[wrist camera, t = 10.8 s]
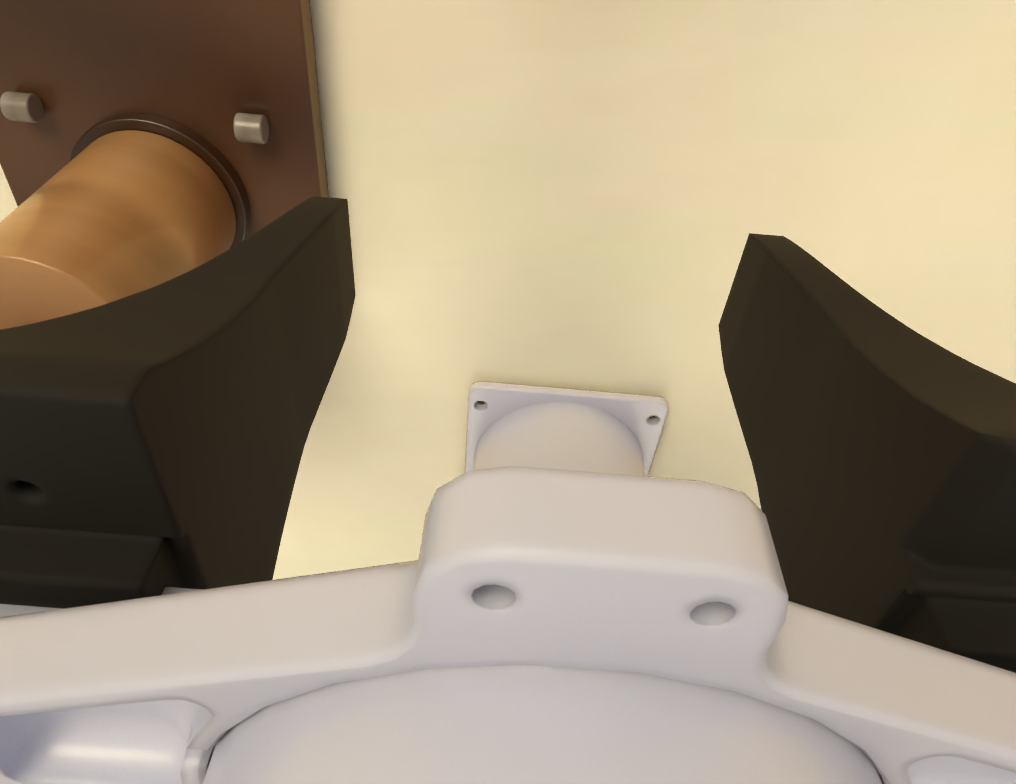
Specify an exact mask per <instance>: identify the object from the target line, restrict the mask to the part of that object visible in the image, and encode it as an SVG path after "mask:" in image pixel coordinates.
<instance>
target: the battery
mask: <svg viewBox="0 0 1016 784" xmlns="http://www.w3.org/2000/svg"><path fill="white" fill-rule="evenodd" d="M250 218H251V215H250V206H249V201H248V197H247V194H246V191H245V189H244V186H243V184H242V182H241V180H240V178H239V176H238V174H237V173H236V171H235V170H234V168H233V167H232V166H231V164H230V163H229V162H228V161H227V159H226V158H225V157H224V156H223V155H222V154H221V153H220V152H219V151H218V150H217V149H216V148H215V147H214V146H213V145H212V144H211V143H210V142H208V141H207V140H206V139H205V138H203V137H202V136H200V135H199V134H197V133H196V132H194V131H193V130H191V129H189V128H187V127H185V126H183V125H181V124H179V123H177V122H174V121H172V120H169V119H166V118H163V117H159V116H156V115H149V114H143V113H127V114H118V115H115V116H111V117H108V118H106V119H104V120H101V121H99V122H98V123H96V124H95V125H94V126H92V127H91V128H90V129H89V130H87V131H86V132H85V133H84V134H83V135H82V136H81V137H80V138H79V140H78V141H77V143H76V144H75V146H74V148H73V151H72V153H71V156H70V161H69V163H68V164H67V165H66V166H64V167H63V168H62V169H61V170H60V171H59V172H57V173H56V174H55V175H54V176H53V177H52V178H51V179H49V180H48V181H47V182H46V183H45V184H44V185H43V186H41V187H40V188H39V189H38V190H37V191H36V192H34V193H33V194H32V195H31V196H30V197H29V198H28V199H26V200H25V201H24V202H23V203H22V204H21V205H20V206H18V207H17V208H16V209H15V210H14V211H13V212H12V213H10V214H9V215H8V216H7V217H6V218H5V219H3V220H2V221H1V222H0V330H1V329H7V328H12V327H18V326H23V325H28V324H32V323H37V322H41V321H45V320H49V319H54V318H58V317H62V316H66V315H70V314H73V313H77V312H80V311H84V310H88V309H91V308H95V307H98V306H101V305H104V304H107V303H110V302H113V301H116V300H118V299H121V298H124V297H127V296H130V295H133V294H136V293H138V292H141V291H144V290H147V289H150V288H152V287H155V286H157V285H160V284H162V283H164V282H166V281H169V280H171V279H173V278H175V277H178V276H180V275H182V274H184V273H186V272H188V271H190V270H192V269H194V268H196V267H198V266H200V265H202V264H204V263H206V262H208V261H210V260H211V259H213V258H215V257H216V256H218V255H220V254H222V253H223V252H225V251H227V250H229V249H230V248H232V247H234V246H235V245H237V244H239V243H241V242H242V241H244V240H246V239H247V236H248V233H249V229H250Z"/></svg>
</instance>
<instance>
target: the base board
mask: <svg viewBox="0 0 1016 784" xmlns="http://www.w3.org/2000/svg"><path fill="white" fill-rule="evenodd" d="M127 113H143V114H149V115H156V116H159V117H163V118H166V119H169V120H172V121H174V122H177V123H179V124H181V125H183V126H185V127H187V128H189V129H191V130H193V131H194V132H196V133H197V134H199V135H200V136H202V137H203V138H205V139H206V140H207V141H208V142H210V143H211V144H212V145H213V146H214V147H215V148H216V149H217V150H218V151H219V152H220V153H221V154H222V155H223V156H224V157H225V158H226V159H227V161H228V162H229V163H230V164H231V166H232V167H233V168H234V170H235V171H236V173H237V174H238V176H239V178H240V180H241V182H242V184H243V186H244V189H245V191H246V194H247V197H248V201H249V206H250V215H251V218H250V229H249V233H248V236H247V238H249V237H250V236H252V235H253V234H255V233H256V232H258V231H259V230H261V229H263V228H264V227H266V226H267V225H269V224H270V223H272V222H273V221H275V220H276V219H278V218H279V217H281V216H282V215H284V214H285V213H287V212H288V211H290V210H291V209H293V208H294V207H296V206H297V205H299V204H300V203H302V202H303V201H305V200H307V199H309V198H311V197H312V196H317V197H328V187H327V177H326V166H325V156H324V146H323V135H322V125H321V115H320V105H319V94H318V84H317V74H316V63H315V53H314V43H313V33H312V22H311V12H310V2H309V0H0V164H1V167H2V169H3V171H4V174H5V176H6V179H7V181H8V183H9V186H10V188H11V191H12V193H13V196H14V198H15V200H16V203H17V205H18V206H20V205H21V204H22V203H23V202H24V201H25V200H26V199H28V198H29V197H30V196H31V195H32V194H33V193H34V192H36V191H37V190H38V189H39V188H40V187H41V186H43V185H44V184H45V183H46V182H47V181H48V180H49V179H51V178H52V177H53V176H54V175H55V174H56V173H57V172H59V171H60V170H61V169H62V168H63V167H64V166H66V165H67V164H68V163H69V161H70V156H71V153H72V151H73V148H74V146H75V144H76V143H77V141H78V140H79V138H80V137H81V136H82V135H83V134H84V133H85V132H86V131H87V130H89V129H90V128H91V127H92V126H94V125H95V124H96V123H98V122H99V121H101V120H104V119H106V118H108V117H111V116H115V115H118V114H127Z"/></svg>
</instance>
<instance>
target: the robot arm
mask: <svg viewBox="0 0 1016 784" xmlns="http://www.w3.org/2000/svg"><path fill="white" fill-rule="evenodd" d="M354 299H355V285H354V273H353V261H352V250H351V238H350V226H349V214H348V202H347V199H340V198H329V197H317V196H312V197H311V198H309V199H307V200H305V201H303V202H302V203H300V204H299V205H297V206H296V207H294V208H293V209H291V210H290V211H288V212H287V213H285V214H284V215H282V216H281V217H279V218H278V219H276V220H275V221H273V222H272V223H270V224H269V225H267V226H266V227H264V228H263V229H261V230H259V231H258V232H256V233H255V234H253V235H252V236H250V237H249V238H247V239H246V240H244V241H242V242H241V243H239V244H237V245H235V246H234V247H232V248H230V249H229V250H227V251H225V252H223V253H222V254H220V255H218V256H216V257H215V258H213V259H211V260H210V261H208V262H206V263H204V264H202V265H200V266H198V267H196V268H194V269H192V270H190V271H188V272H186V273H184V274H182V275H180V276H178V277H175V278H173V279H171V280H169V281H166V282H164V283H162V284H160V285H157V286H155V287H152V288H150V289H147V290H144V291H141V292H138V293H136V294H133V295H130V296H127V297H124V298H121V299H118V300H116V301H113V302H110V303H107V304H104V305H101V306H98V307H95V308H91V309H88V310H84V311H80V312H77V313H73V314H70V315H66V316H62V317H58V318H54V319H49V320H45V321H41V322H37V323H32V324H28V325H23V326H18V327H12V328H7V329H1V330H0V784H1016V384H1015V383H1013V382H1011V381H1009V380H1006V379H1004V378H1002V377H1000V376H998V375H996V374H994V373H992V372H989V371H987V370H985V369H983V368H981V367H979V366H977V365H974V364H973V363H971V362H969V361H967V360H965V359H963V358H961V357H959V356H957V355H955V354H953V353H951V352H950V351H948V350H946V349H944V348H943V347H941V346H939V345H937V344H936V343H934V342H932V341H930V340H929V339H927V338H925V337H923V336H922V335H920V334H918V333H917V332H915V331H914V330H912V329H910V328H909V327H907V326H906V325H904V324H903V323H901V322H900V321H898V320H897V319H895V318H894V317H892V316H891V315H889V314H888V313H886V312H885V311H884V310H882V309H881V308H879V307H878V306H876V305H875V304H874V303H872V302H871V301H869V300H868V299H867V298H865V297H864V296H863V295H861V294H860V293H859V292H857V291H856V290H855V289H853V288H852V287H851V286H850V285H848V284H847V283H846V282H844V281H843V280H842V279H840V278H839V277H838V276H837V275H835V274H834V273H833V272H832V271H830V270H829V269H828V268H826V267H825V266H824V265H823V264H821V263H820V262H819V261H818V260H816V259H815V258H814V257H812V256H811V255H810V254H809V253H807V252H806V251H805V250H803V249H802V248H801V247H799V246H798V245H796V244H795V243H793V242H792V241H790V240H789V239H787V238H785V237H784V236H774V235H762V234H750V233H749V236H748V239H747V242H746V245H745V248H744V251H743V254H742V257H741V260H740V263H739V266H738V269H737V272H736V275H735V278H734V281H733V284H732V287H731V290H730V293H729V296H728V299H727V302H726V305H725V308H724V311H723V314H722V317H721V320H720V323H719V332H720V341H721V350H722V357H723V364H724V370H725V374H726V378H727V381H728V385H729V388H730V392H731V395H732V398H733V402H734V405H735V409H736V412H737V415H738V418H739V422H740V425H741V428H742V432H743V435H744V438H745V442H746V445H747V448H748V451H749V455H750V458H751V461H752V465H753V469H754V473H755V477H756V481H757V486H758V492H759V498H760V504H761V510H762V511H761V510H760V509H759V508H758V507H757V506H756V505H755V504H754V503H753V501H752V500H751V499H750V498H749V497H748V496H747V495H746V494H745V493H743V492H740V491H736V490H732V489H729V488H725V487H721V486H718V485H714V484H711V483H707V482H703V481H696V480H684V479H671V478H659V477H648V474H649V471H650V468H651V464H652V461H653V458H654V455H655V452H656V448H657V445H658V442H659V439H660V436H661V432H662V429H663V426H664V423H665V420H666V416H667V413H668V405H667V402H666V400H665V399H663V398H662V397H658V396H647V395H635V394H623V393H612V392H600V391H588V390H577V389H565V388H553V387H542V386H530V385H518V384H507V383H495V382H483V381H482V382H476V383H474V384H473V385H472V386H471V387H470V391H469V405H468V423H467V441H466V459H465V473H464V474H463V475H461V476H459V477H457V478H456V479H454V480H452V481H450V482H448V483H447V484H445V485H443V486H441V487H440V488H438V489H437V490H436V492H435V494H434V497H433V499H432V501H431V504H430V506H429V508H428V511H427V513H426V516H425V522H424V529H423V535H422V541H421V547H420V554H419V560H416V561H409V562H401V563H394V564H387V565H379V566H372V567H365V568H357V569H350V570H343V571H335V572H328V573H321V574H314V575H306V576H299V577H292V578H284V579H277V580H272V578H273V574H274V569H275V565H276V560H277V555H278V551H279V546H280V541H281V537H282V533H283V528H284V524H285V520H286V516H287V512H288V507H289V503H290V499H291V495H292V491H293V487H294V483H295V479H296V475H297V471H298V468H299V464H300V460H301V456H302V452H303V449H304V445H305V442H306V440H307V437H308V434H309V431H310V428H311V425H312V423H313V420H314V418H315V415H316V413H317V410H318V408H319V405H320V403H321V400H322V398H323V395H324V393H325V390H326V388H327V385H328V383H329V380H330V378H331V375H332V373H333V370H334V367H335V365H336V362H337V360H338V357H339V355H340V352H341V349H342V347H343V344H344V341H345V339H346V335H347V331H348V326H349V322H350V318H351V313H352V309H353V304H354ZM477 401H483V402H485V404H480V403H477ZM650 416H657V417H655V418H648V417H650Z"/></svg>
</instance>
